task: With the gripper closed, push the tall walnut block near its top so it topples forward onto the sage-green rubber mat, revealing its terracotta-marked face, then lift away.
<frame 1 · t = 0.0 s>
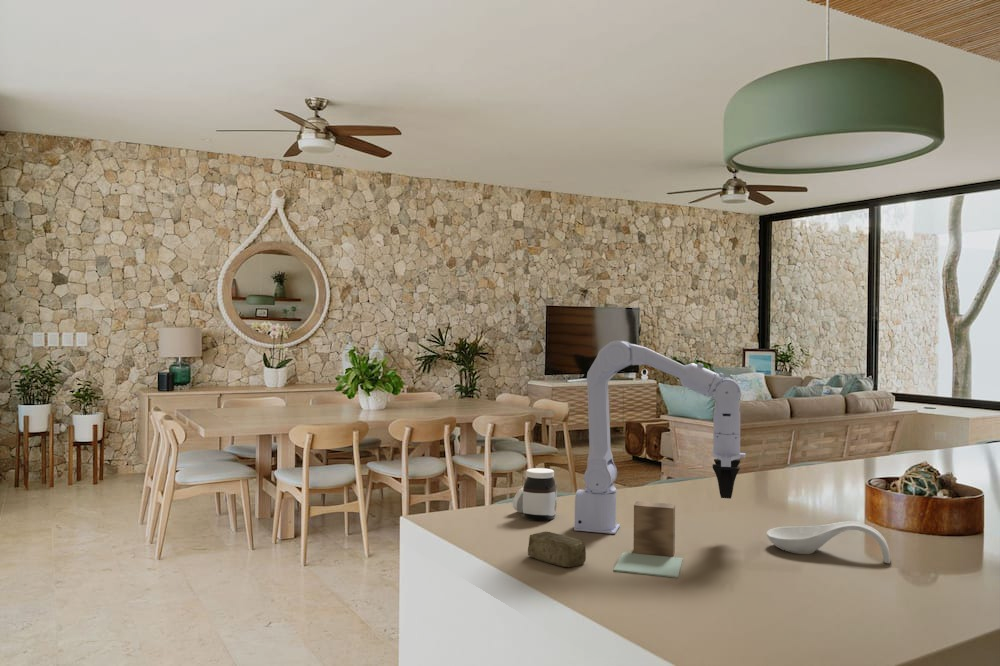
hand: (726, 494, 164), 10 cm above the kitchen island, tool pointing down, fingers open, 7 cm apart
spread jar: (533, 516, 185), on the kitchen island
stone block: (556, 562, 148), on the kitchen island
walnut block: (654, 552, 154), on the kitchen island
mat: (649, 565, 145), on the kitchen island
spoon rest: (826, 555, 155), on the kitchen island
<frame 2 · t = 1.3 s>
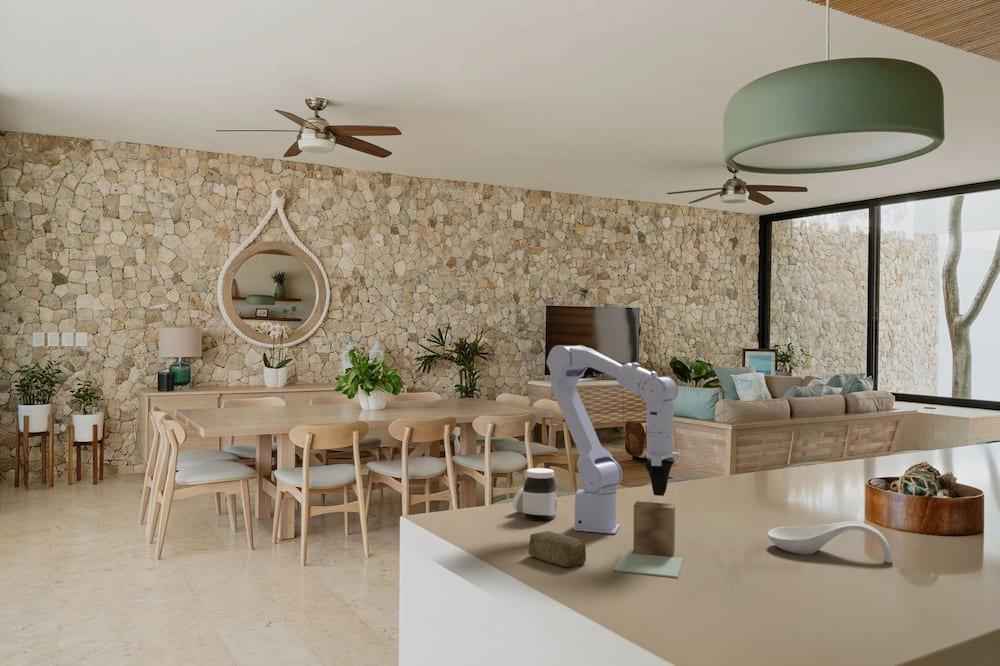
hand: (659, 493, 162), 10 cm above the kitchen island, tool pointing down, fingers closed
nothing on the kitchen island moved.
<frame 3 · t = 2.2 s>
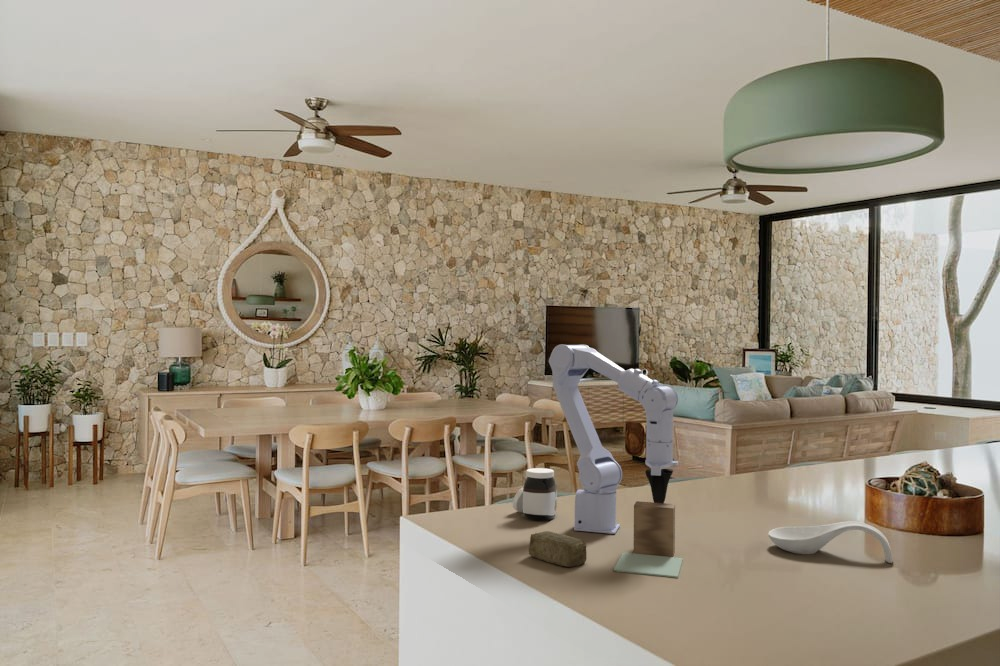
hand: (659, 503, 162), 8 cm above the kitchen island, tool pointing down, fingers closed
nothing on the kitchen island moved.
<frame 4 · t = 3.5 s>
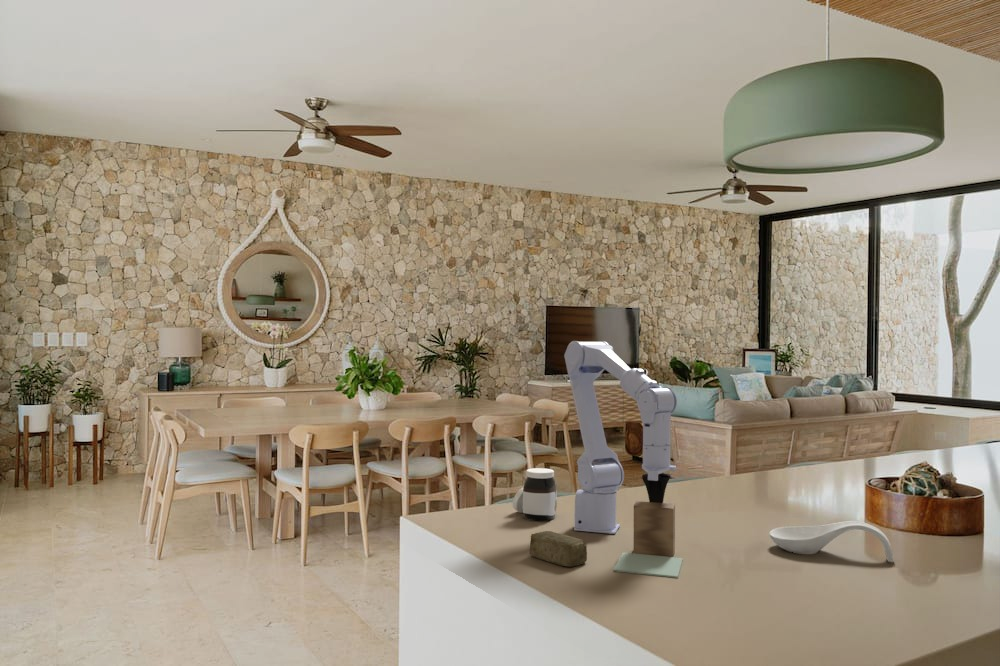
hand: (656, 508, 157), 8 cm above the kitchen island, tool pointing down, fingers closed
nothing on the kitchen island moved.
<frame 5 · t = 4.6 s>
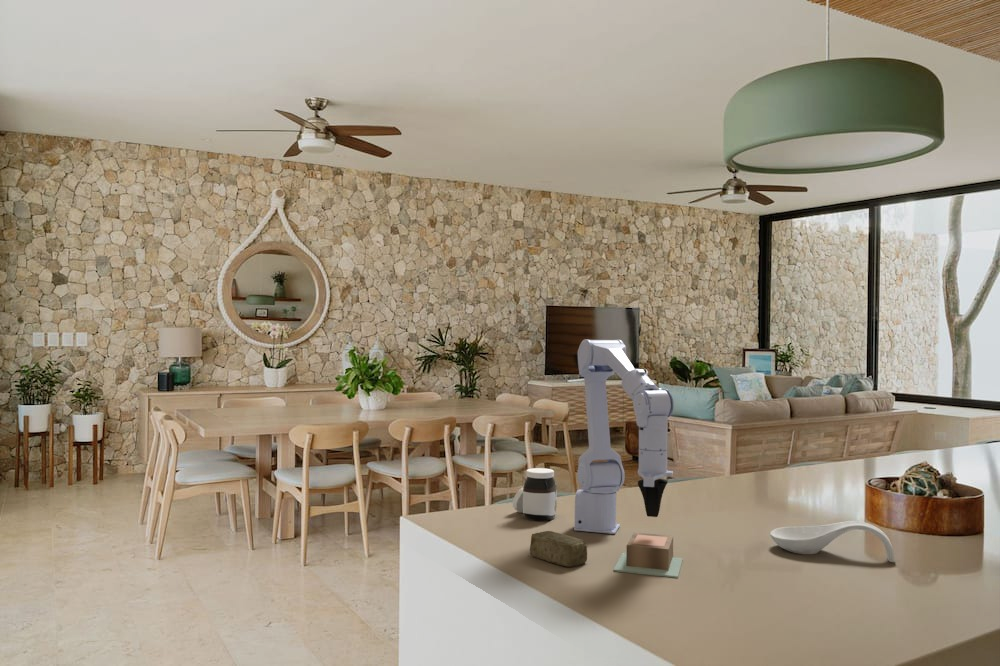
hand: (652, 516, 150), 8 cm above the kitchen island, tool pointing down, fingers closed
walnut block: (653, 543, 152), point 2 cm above the kitchen island, tilted 90°, touching mat
everything else where it was.
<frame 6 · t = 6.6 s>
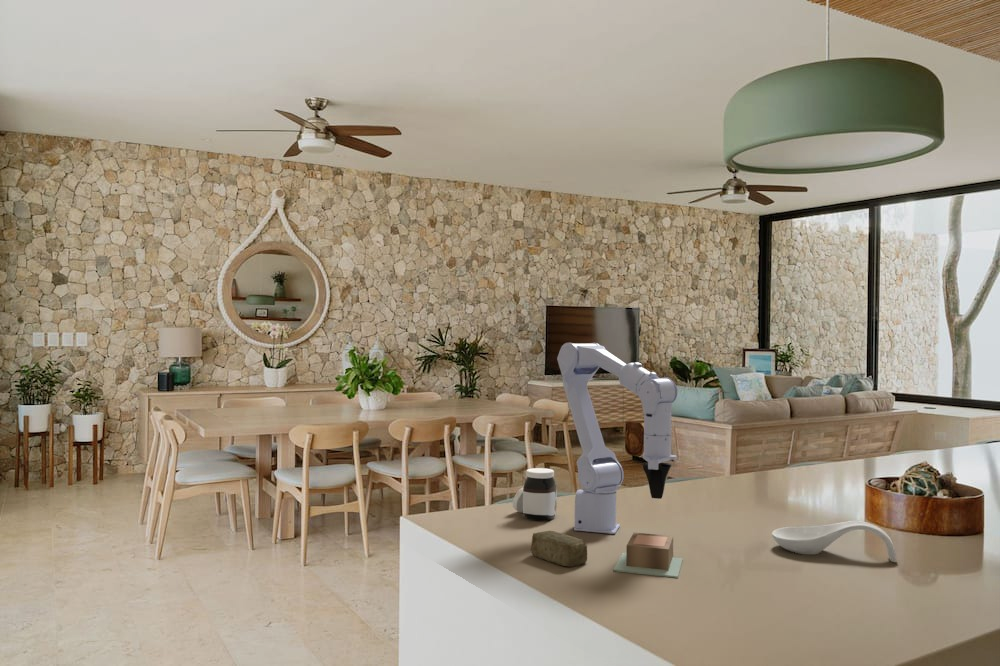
hand: (656, 497, 159), 10 cm above the kitchen island, tool pointing down, fingers closed
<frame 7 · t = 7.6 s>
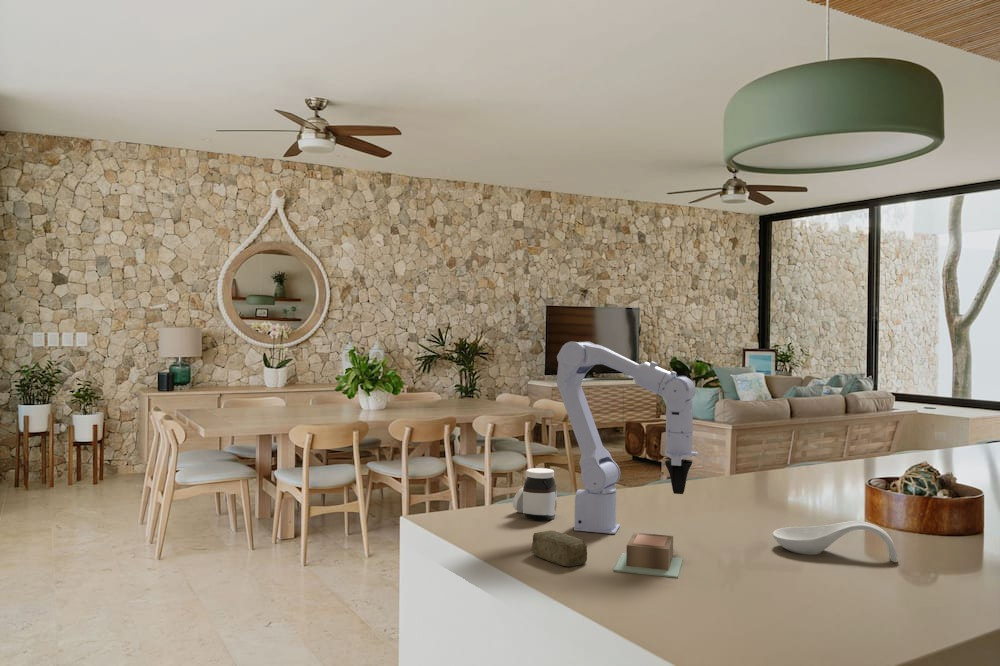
hand: (678, 493, 163), 10 cm above the kitchen island, tool pointing down, fingers closed
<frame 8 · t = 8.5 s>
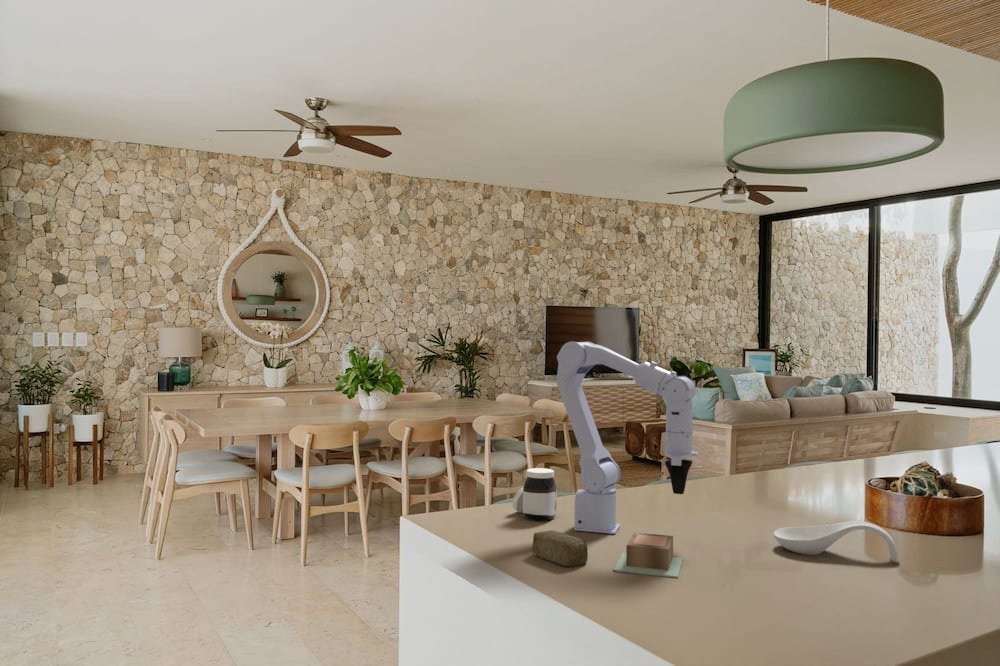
hand: (678, 493, 163), 10 cm above the kitchen island, tool pointing down, fingers closed
at the end: walnut block tilted 90°; walnut block touching mat; walnut block inside the target area (1.1 cm from its centre), point 2.3 cm above the kitchen island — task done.
